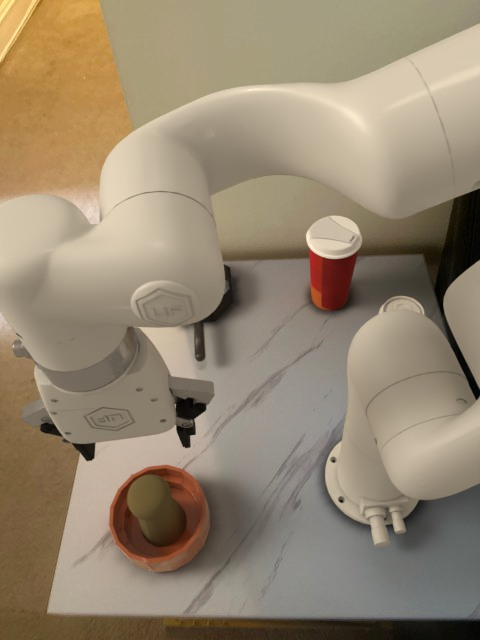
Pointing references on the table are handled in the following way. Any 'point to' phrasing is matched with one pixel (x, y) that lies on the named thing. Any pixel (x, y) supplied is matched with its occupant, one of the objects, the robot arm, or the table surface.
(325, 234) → the coffee cup
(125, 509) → the bowl
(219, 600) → the table surface
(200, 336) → the pan
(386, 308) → the beer can
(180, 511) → the olive rounded piece
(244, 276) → the table surface
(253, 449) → the table surface
